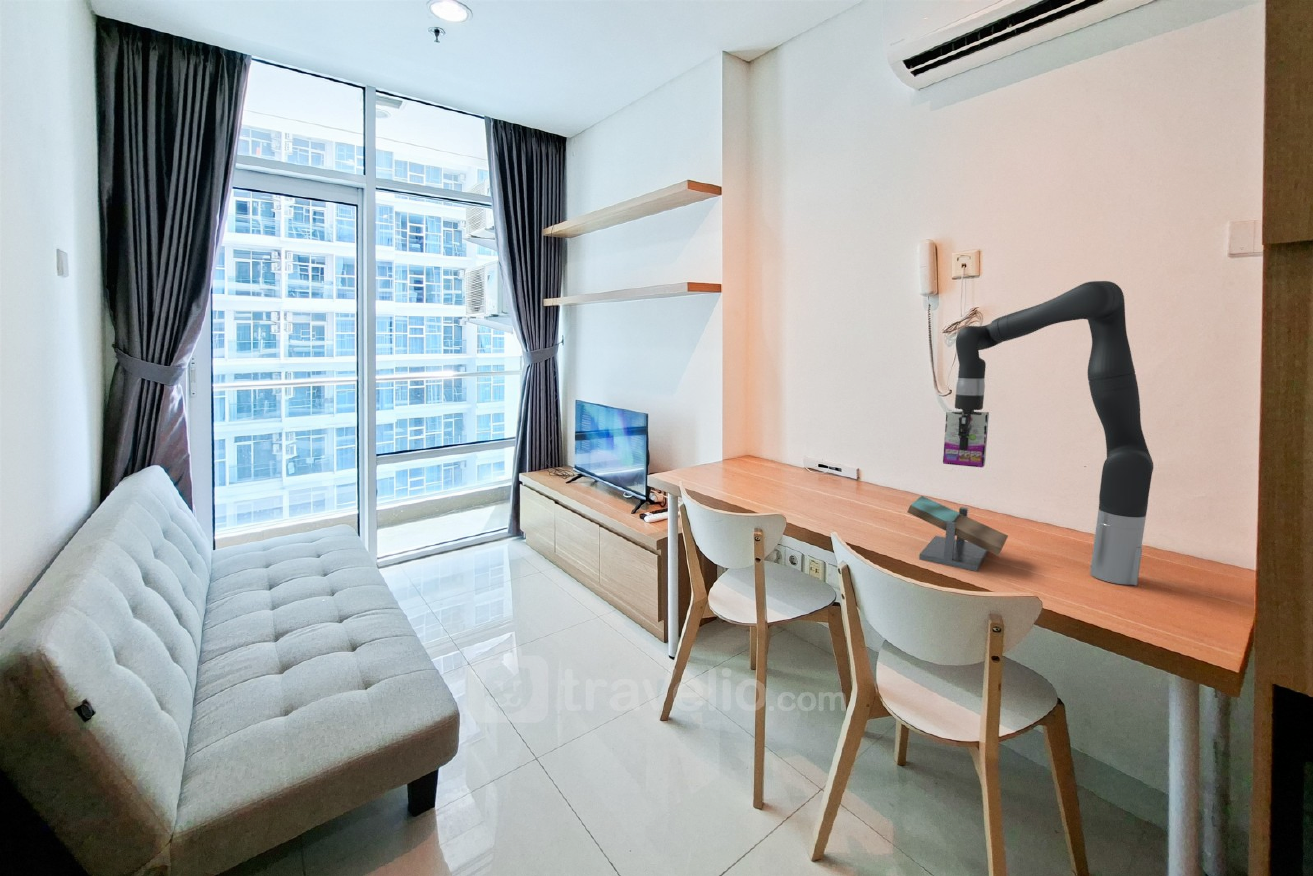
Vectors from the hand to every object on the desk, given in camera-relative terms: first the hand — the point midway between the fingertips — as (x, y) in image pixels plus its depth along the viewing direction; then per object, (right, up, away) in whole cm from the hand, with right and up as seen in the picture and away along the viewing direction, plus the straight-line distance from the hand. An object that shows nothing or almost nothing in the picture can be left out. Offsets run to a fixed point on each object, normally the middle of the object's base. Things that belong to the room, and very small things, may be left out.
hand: (964, 448), depth 173 cm
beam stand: (-11, -30, -14) cm, 34 cm away
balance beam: (-11, -21, -15) cm, 28 cm away
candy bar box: (0, -5, +1) cm, 5 cm away
